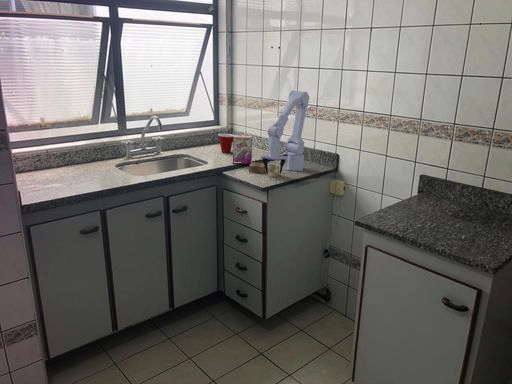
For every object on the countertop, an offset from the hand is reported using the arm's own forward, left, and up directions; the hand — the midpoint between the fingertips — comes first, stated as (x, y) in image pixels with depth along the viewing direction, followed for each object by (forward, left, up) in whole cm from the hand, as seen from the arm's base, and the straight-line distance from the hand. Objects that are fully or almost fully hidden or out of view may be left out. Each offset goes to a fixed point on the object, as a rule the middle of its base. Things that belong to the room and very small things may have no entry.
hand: (273, 172), depth 227 cm
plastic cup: (+36, -43, -2) cm, 56 cm away
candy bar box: (+21, -20, -2) cm, 29 cm away
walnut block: (+10, -7, -2) cm, 12 cm away
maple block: (0, 0, -2) cm, 2 cm away
